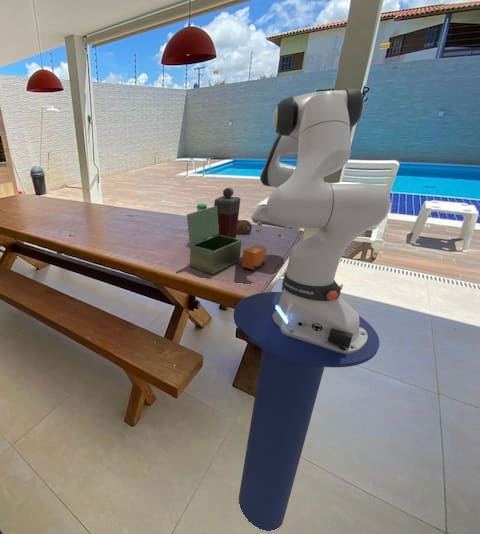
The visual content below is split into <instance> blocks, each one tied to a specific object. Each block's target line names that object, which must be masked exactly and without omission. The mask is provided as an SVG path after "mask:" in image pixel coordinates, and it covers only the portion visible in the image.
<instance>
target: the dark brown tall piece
mask: <svg viewBox="0 0 480 534" xmlns="http://www.w3.org/2000/svg"><path fill="white" fill-rule="evenodd" d="M234 193H235V192H234V189H233V188H231V187H226V188H225V189H223V191H222V195H221V196H218V197H217V198H215V199H214V203H213V207H214V206H217V212H218V225H219V234H217V235H222V236H226V237H231V238H235V239H237V234H238V233H237V224H238V220H239V215H240V206H241V197H239V196H233V195H234ZM214 236H216V235H214ZM214 236H212V237H214Z"/></svg>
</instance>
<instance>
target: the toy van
mask: <svg viewBox="0 0 480 534" xmlns="http://www.w3.org/2000/svg"><path fill="white" fill-rule="evenodd" d="M266 254H267V247H265V246H261V245H257V244H254V245H251V246H250V247H248V248H246V249H244V250H243V252H242V261H241V262H242V263H241V267H242V269H243V268H244V269H246V270H250V271H253V272H255V271H256V270H257V269H258V267H264V265H265V261H266Z"/></svg>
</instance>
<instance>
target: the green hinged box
mask: <svg viewBox="0 0 480 534" xmlns="http://www.w3.org/2000/svg"><path fill="white" fill-rule="evenodd" d="M242 241H243V240H242V239H239V238H236V239H235V238H231V237H226V236H222V235H216V236H214V237H209V238H208V239H206V240H203V241H201V242H198V243H193V244H190V248H189V249H190V252H189V267H190V268H192V269H195V270H199V271H200V272H204V273H207V274H209V275H215V274H217V273H219V272H220V271H221V272H222V270H225V269H227V268H228V267H231V266H233V265H235V264H236V263H238V262H240V261H241V251H242V250H241V249H242Z"/></svg>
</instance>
